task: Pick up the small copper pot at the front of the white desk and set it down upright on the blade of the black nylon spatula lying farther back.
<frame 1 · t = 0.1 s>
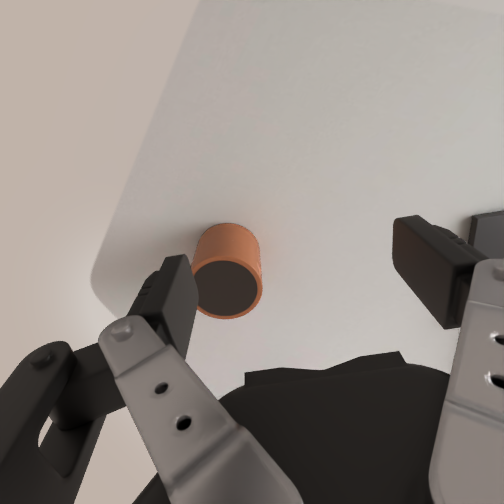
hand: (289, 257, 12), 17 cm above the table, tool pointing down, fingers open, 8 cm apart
copper pot: (228, 251, 31), on the table
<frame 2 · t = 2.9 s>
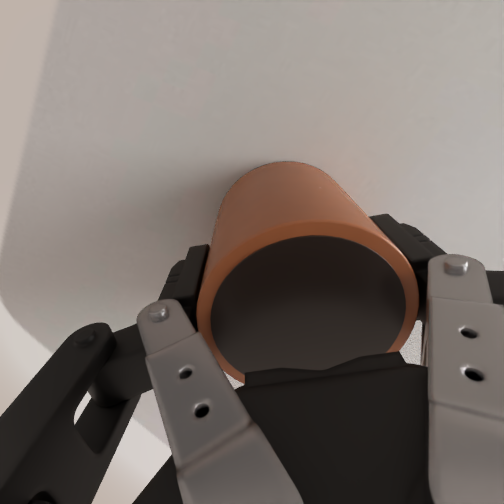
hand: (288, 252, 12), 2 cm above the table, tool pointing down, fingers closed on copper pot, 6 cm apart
copper pot: (283, 229, 14), on the table, touching gripper
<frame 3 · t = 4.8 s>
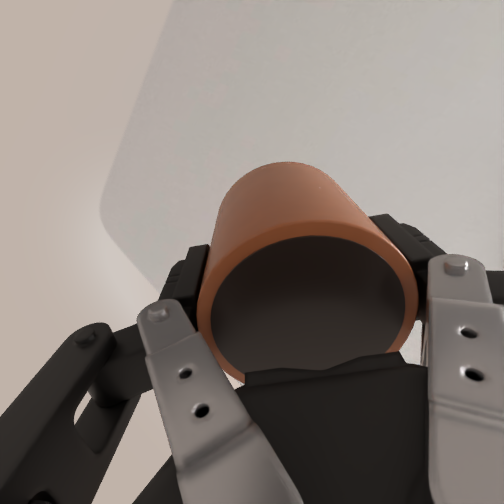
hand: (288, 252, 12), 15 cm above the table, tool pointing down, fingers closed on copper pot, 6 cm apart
copper pot: (283, 229, 14), point 13 cm above the table, touching gripper
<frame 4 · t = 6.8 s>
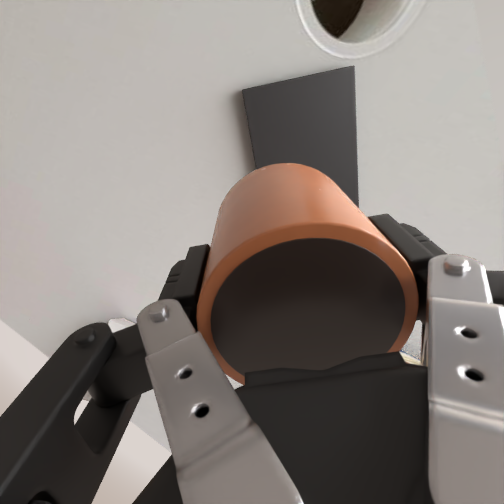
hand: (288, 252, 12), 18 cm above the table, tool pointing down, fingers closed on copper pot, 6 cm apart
spatula: (304, 158, 28), on the table
copper pot: (283, 230, 14), point 16 cm above the table, touching gripper
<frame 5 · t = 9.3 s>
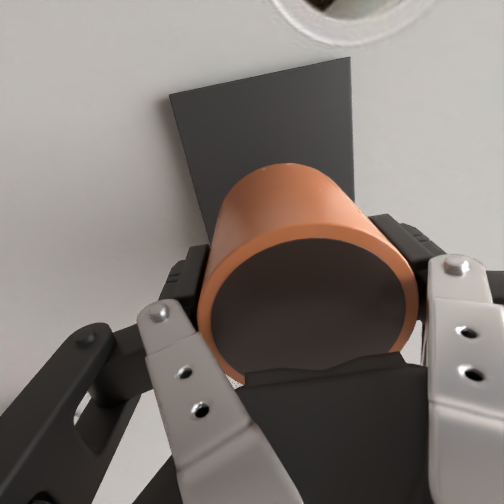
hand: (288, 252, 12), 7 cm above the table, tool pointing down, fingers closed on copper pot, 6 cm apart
spatula: (275, 197, 19), on the table
copper pot: (283, 230, 14), point 5 cm above the table, touching gripper
when the fingers open (3 cm above the table, at t = 10.9 s): copper pot stays where it is, resting on spatula.
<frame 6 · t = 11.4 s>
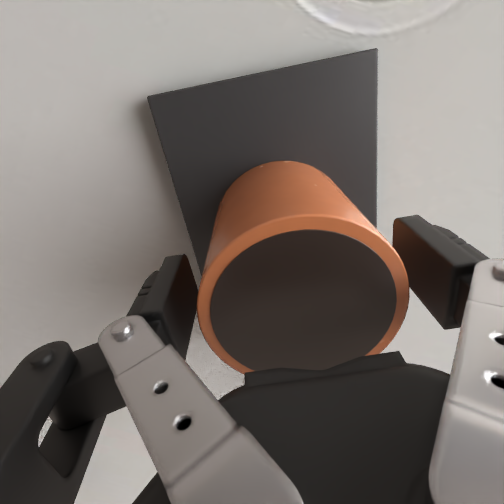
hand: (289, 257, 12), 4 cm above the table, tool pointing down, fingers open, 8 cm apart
spatula: (280, 220, 16), on the table
copper pot: (281, 226, 15), point 1 cm above the table, touching spatula
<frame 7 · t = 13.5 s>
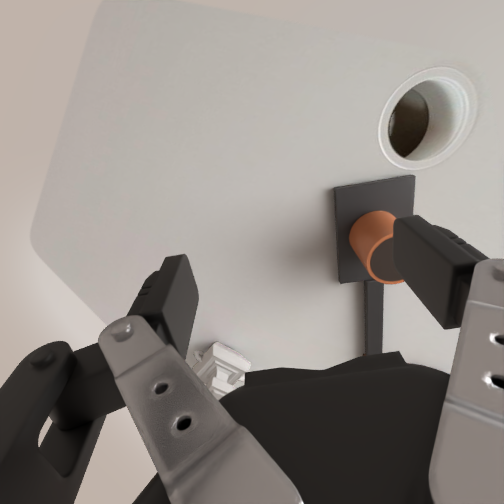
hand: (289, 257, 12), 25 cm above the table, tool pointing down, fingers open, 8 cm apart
spatula: (372, 232, 39), on the table
copper pot: (374, 234, 38), point 1 cm above the table, touching spatula
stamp: (221, 353, 48), on the table
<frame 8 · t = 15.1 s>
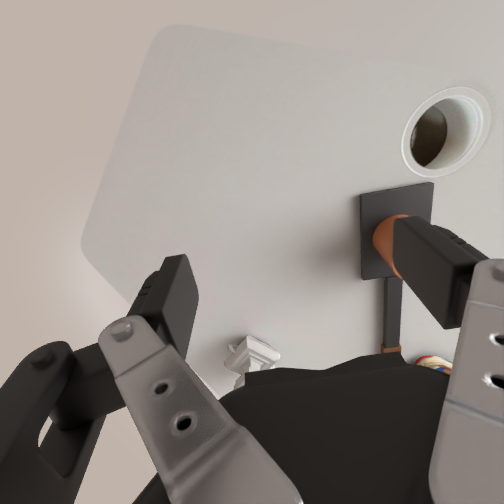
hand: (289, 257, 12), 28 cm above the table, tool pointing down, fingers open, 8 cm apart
spatula: (393, 233, 43), on the table
copper pot: (395, 235, 42), point 1 cm above the table, touching spatula
pencil case: (448, 375, 56), on the table
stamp: (251, 346, 52), on the table
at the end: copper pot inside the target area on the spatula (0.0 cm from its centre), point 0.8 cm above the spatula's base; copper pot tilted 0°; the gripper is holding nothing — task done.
